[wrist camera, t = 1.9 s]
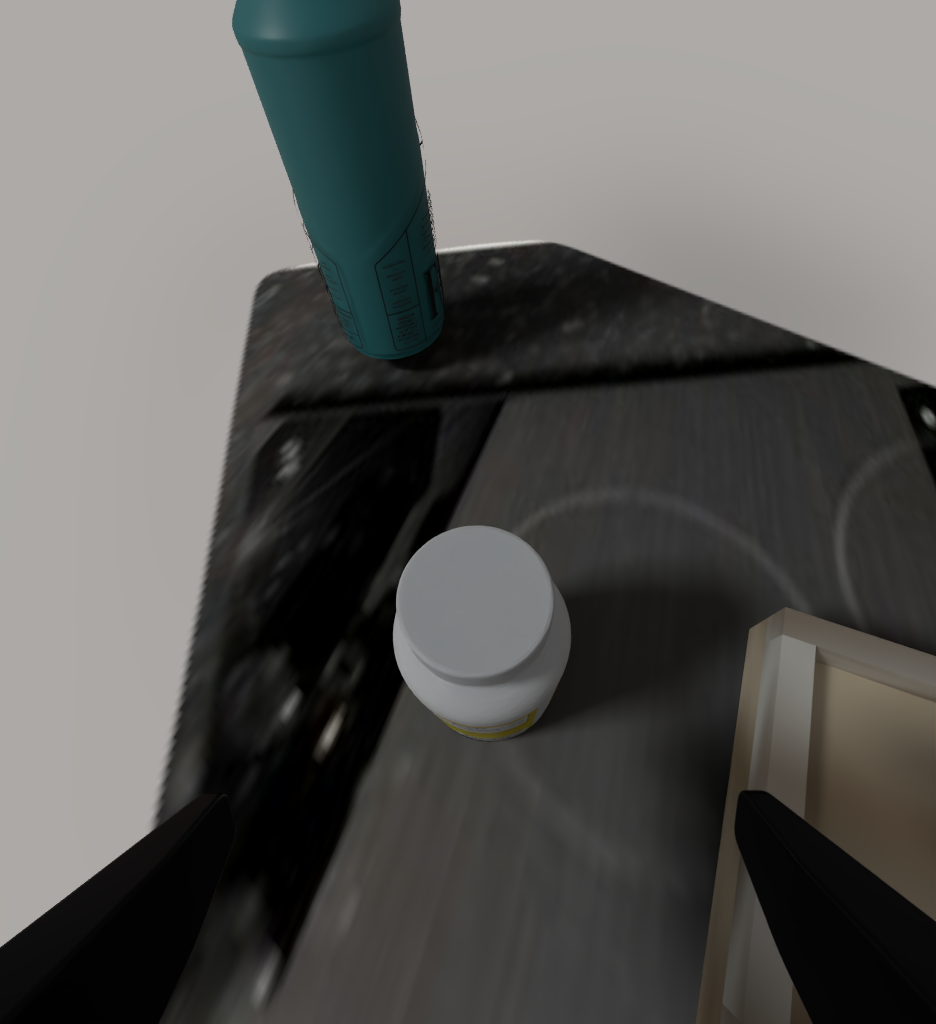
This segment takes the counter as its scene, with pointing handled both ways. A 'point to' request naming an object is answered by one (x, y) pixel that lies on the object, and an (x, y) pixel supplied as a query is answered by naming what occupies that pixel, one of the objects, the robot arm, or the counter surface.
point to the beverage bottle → (351, 160)
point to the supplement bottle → (481, 632)
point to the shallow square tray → (822, 788)
